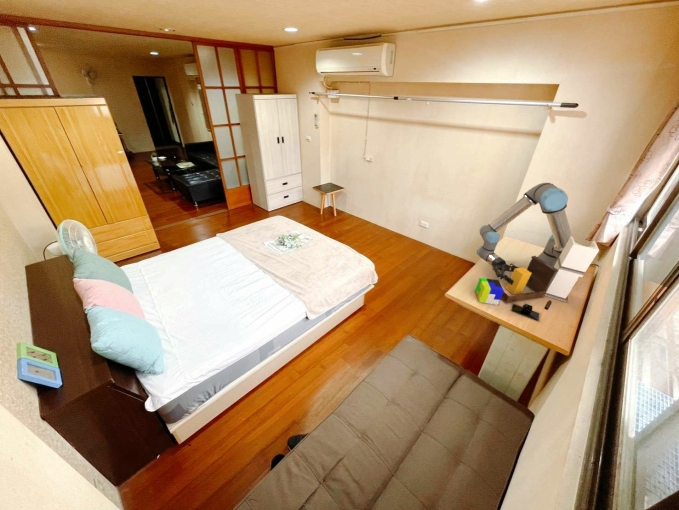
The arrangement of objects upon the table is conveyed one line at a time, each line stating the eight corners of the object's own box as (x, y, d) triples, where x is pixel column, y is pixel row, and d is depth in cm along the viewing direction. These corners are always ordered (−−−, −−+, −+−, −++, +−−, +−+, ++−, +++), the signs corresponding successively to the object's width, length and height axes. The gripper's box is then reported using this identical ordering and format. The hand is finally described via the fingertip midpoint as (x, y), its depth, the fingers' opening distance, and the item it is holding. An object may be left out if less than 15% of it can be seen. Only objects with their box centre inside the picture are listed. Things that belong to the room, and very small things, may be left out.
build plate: (511, 311, 144) (514, 304, 142) (513, 304, 149) (516, 297, 147) (538, 321, 138) (541, 314, 136) (538, 313, 143) (542, 306, 141)
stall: (522, 281, 168) (535, 255, 158) (544, 297, 155) (559, 270, 145) (486, 286, 163) (497, 260, 153) (505, 303, 150) (518, 276, 140)
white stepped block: (566, 302, 152) (599, 250, 133) (544, 295, 156) (573, 244, 138) (564, 291, 160) (595, 241, 142) (543, 285, 165) (570, 235, 146)
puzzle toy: (497, 304, 148) (504, 290, 143) (479, 301, 150) (484, 288, 145) (492, 293, 157) (498, 280, 152) (475, 290, 158) (480, 277, 153)
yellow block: (513, 287, 162) (523, 267, 155) (521, 293, 157) (531, 273, 150) (505, 288, 161) (514, 268, 153) (513, 294, 156) (523, 274, 148)
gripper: (510, 264, 174) (537, 284, 157) (477, 268, 169) (502, 289, 152) (514, 255, 170) (542, 274, 153) (481, 259, 166) (506, 279, 148)
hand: (522, 281), depth 152 cm, fingers open, 13 cm apart
